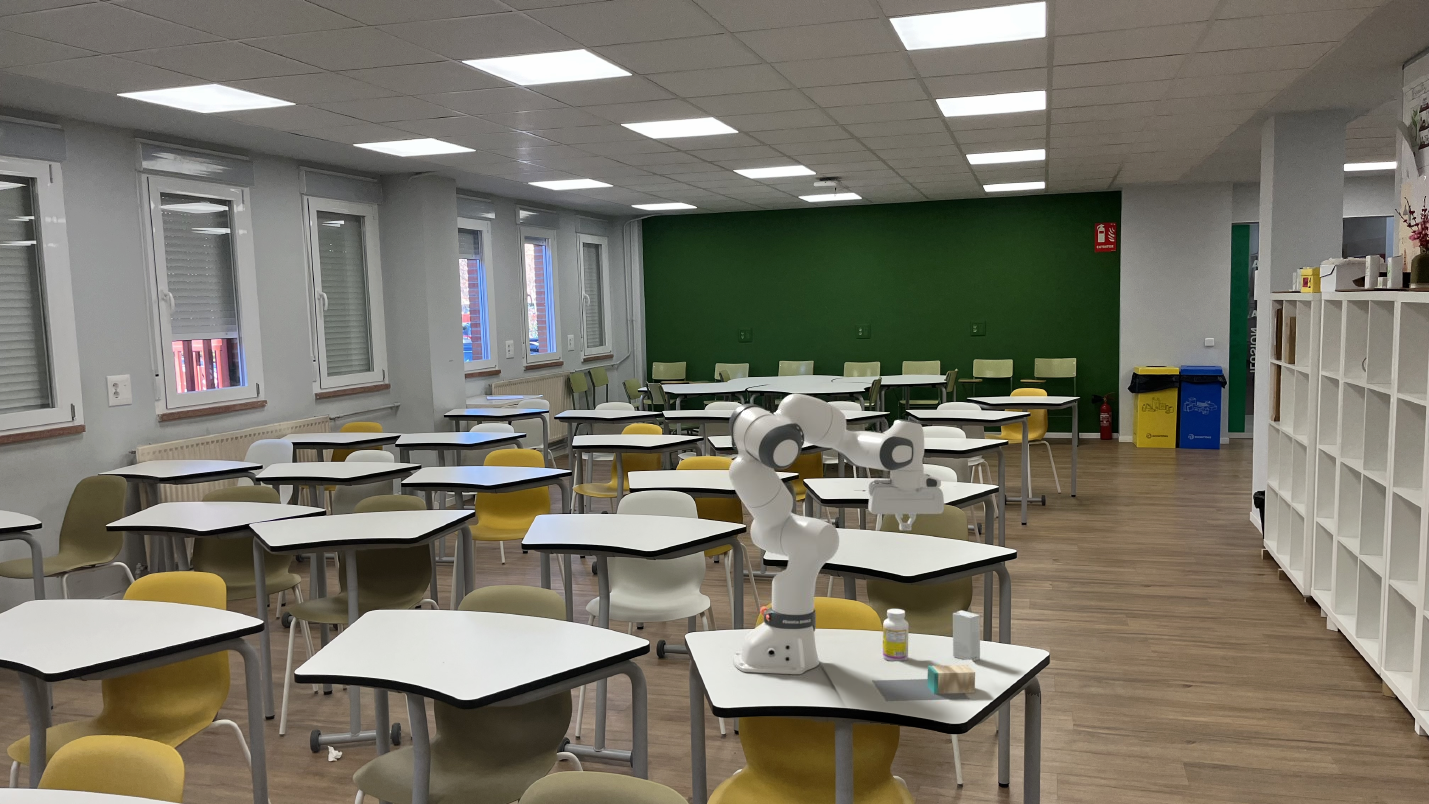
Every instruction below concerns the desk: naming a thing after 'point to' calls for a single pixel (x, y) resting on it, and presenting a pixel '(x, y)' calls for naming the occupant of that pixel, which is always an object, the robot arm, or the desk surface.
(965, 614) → the skincare box
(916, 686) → the rubber mat
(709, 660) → the desk surface
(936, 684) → the birch block
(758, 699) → the desk surface
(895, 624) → the supplement bottle
